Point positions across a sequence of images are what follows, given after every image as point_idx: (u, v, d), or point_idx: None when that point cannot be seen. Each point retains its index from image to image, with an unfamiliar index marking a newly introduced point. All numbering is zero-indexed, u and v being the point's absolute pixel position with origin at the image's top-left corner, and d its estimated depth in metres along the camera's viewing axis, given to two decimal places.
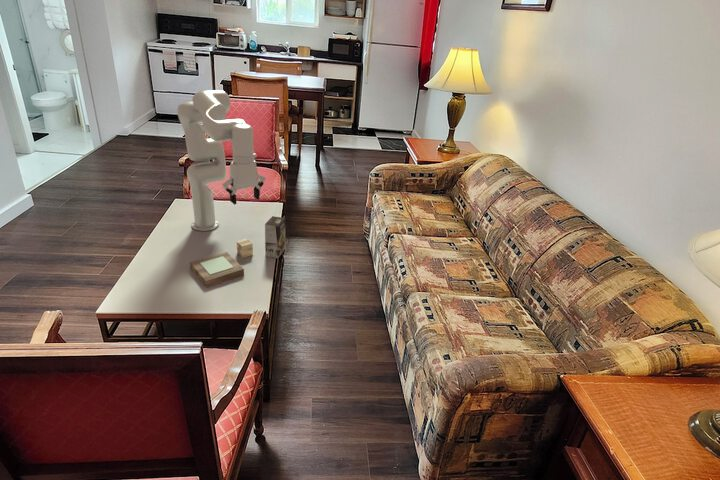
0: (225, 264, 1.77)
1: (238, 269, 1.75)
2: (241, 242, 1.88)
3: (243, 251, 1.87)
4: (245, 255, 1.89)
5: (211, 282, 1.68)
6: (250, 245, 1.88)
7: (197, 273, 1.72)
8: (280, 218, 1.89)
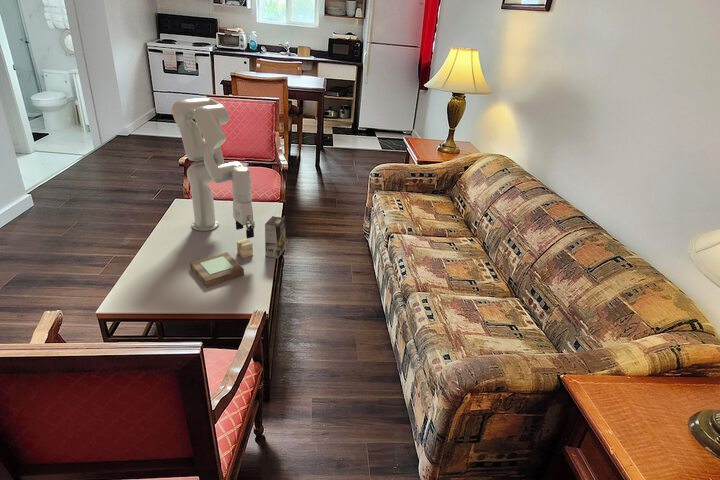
0: (225, 264, 1.77)
1: (238, 269, 1.75)
2: (241, 242, 1.88)
3: (243, 251, 1.87)
4: (245, 255, 1.89)
5: (211, 282, 1.68)
6: (250, 245, 1.88)
7: (197, 273, 1.72)
8: (280, 218, 1.89)
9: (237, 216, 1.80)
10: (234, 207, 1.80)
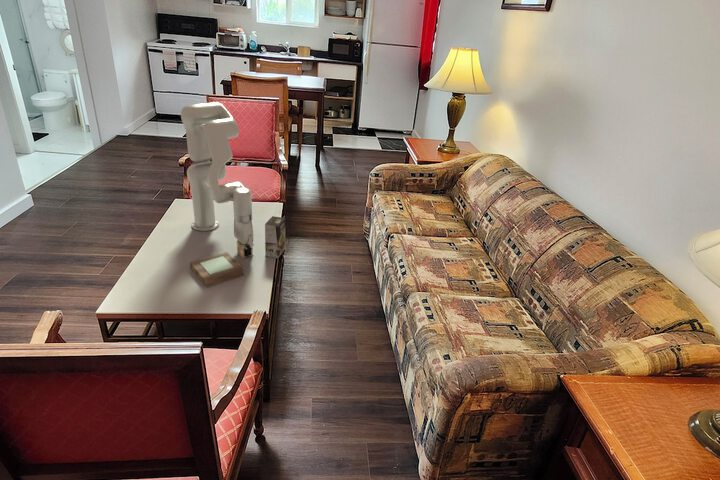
0: (225, 264, 1.77)
1: (238, 269, 1.75)
2: None
3: (243, 251, 1.87)
4: None
5: (211, 282, 1.68)
6: None
7: (197, 273, 1.72)
8: (280, 218, 1.89)
9: (237, 235, 1.85)
10: (235, 226, 1.85)
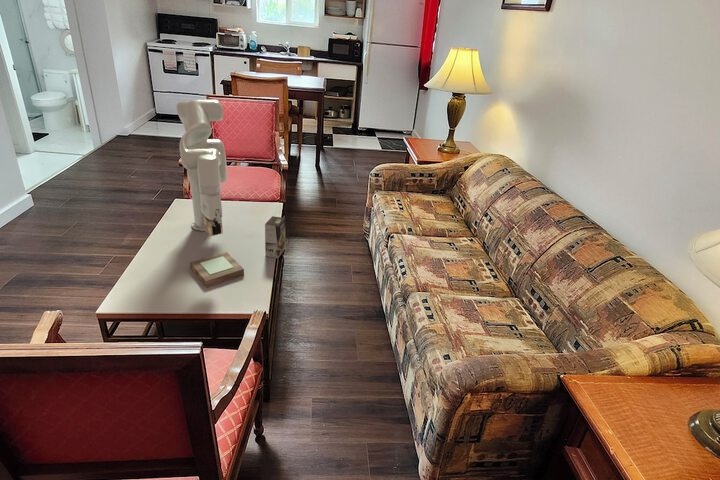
0: (225, 264, 1.77)
1: (238, 269, 1.75)
2: None
3: (211, 228, 1.64)
4: None
5: (211, 282, 1.68)
6: None
7: (197, 273, 1.72)
8: (280, 218, 1.89)
9: (204, 210, 1.62)
10: (201, 200, 1.62)
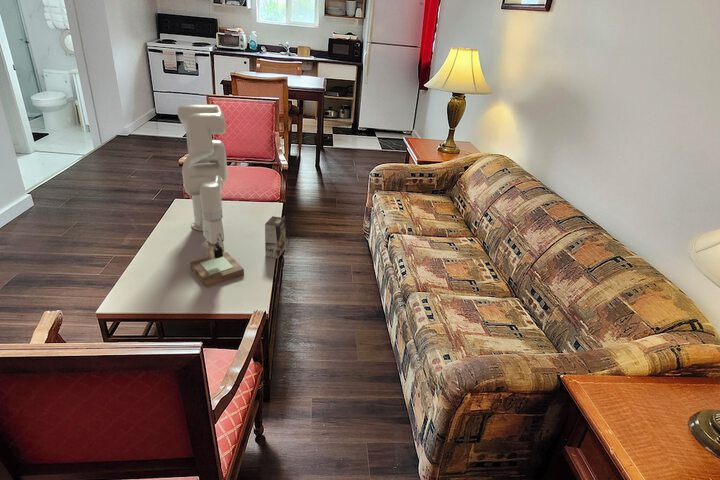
0: (225, 264, 1.77)
1: (238, 269, 1.75)
2: None
3: (213, 252, 1.69)
4: None
5: (211, 282, 1.68)
6: None
7: (197, 273, 1.72)
8: (280, 218, 1.89)
9: (206, 234, 1.67)
10: (203, 224, 1.67)
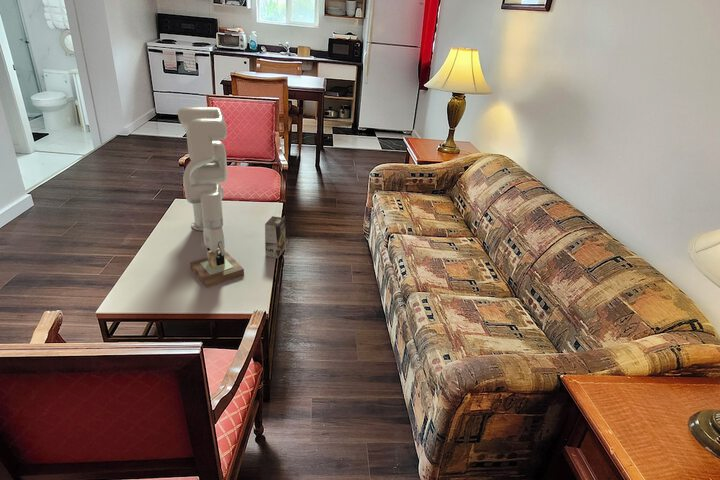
0: (225, 264, 1.77)
1: (238, 269, 1.75)
2: (212, 252, 1.73)
3: (214, 262, 1.71)
4: (216, 266, 1.73)
5: (211, 282, 1.68)
6: None
7: (197, 273, 1.72)
8: (280, 218, 1.89)
9: (207, 242, 1.69)
10: (204, 232, 1.69)
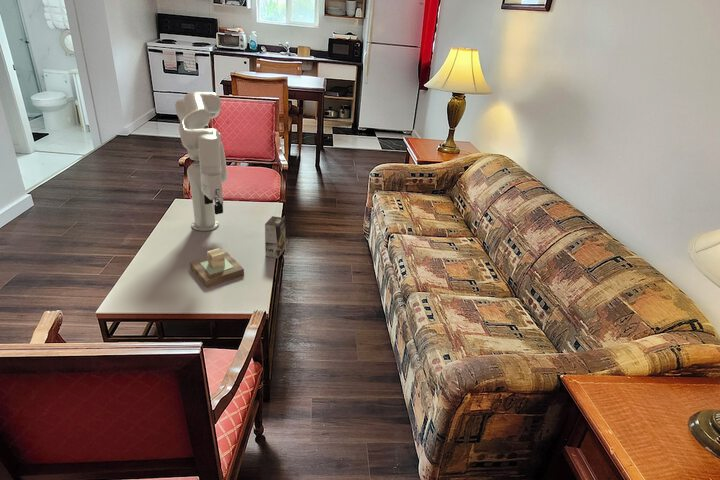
0: (225, 264, 1.77)
1: (238, 269, 1.75)
2: (212, 252, 1.73)
3: (214, 262, 1.71)
4: (216, 266, 1.73)
5: (211, 282, 1.68)
6: (222, 255, 1.73)
7: (197, 273, 1.72)
8: (280, 218, 1.89)
9: (205, 189, 1.64)
10: (201, 179, 1.64)
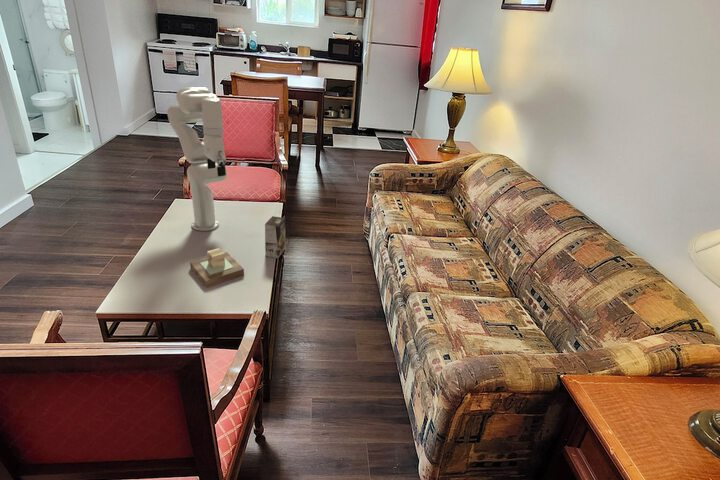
0: (225, 264, 1.77)
1: (238, 269, 1.75)
2: (212, 252, 1.73)
3: (214, 262, 1.71)
4: (216, 266, 1.73)
5: (211, 282, 1.68)
6: (222, 255, 1.73)
7: (197, 273, 1.72)
8: (280, 218, 1.89)
9: (208, 152, 1.71)
10: (205, 143, 1.71)
